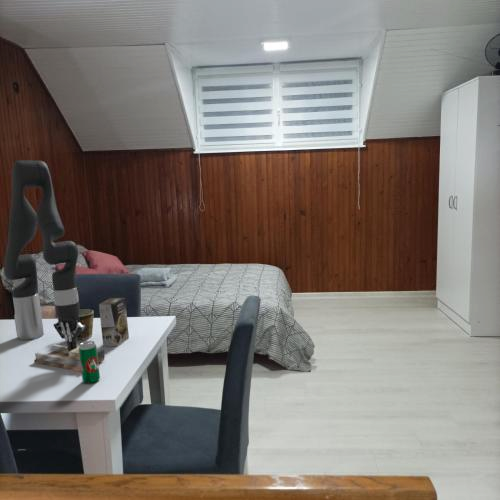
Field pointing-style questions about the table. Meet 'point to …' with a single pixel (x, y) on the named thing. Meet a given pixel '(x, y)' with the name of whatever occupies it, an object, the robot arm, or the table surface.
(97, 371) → the soda can
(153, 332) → the table surface
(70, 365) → the shallow wooden tray
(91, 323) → the ceramic cup
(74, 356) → the birch block
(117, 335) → the coffee box
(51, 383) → the table surface
